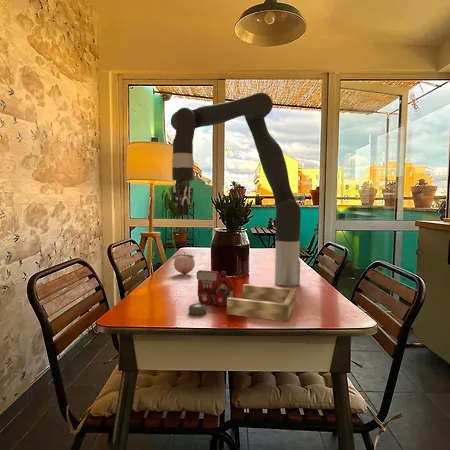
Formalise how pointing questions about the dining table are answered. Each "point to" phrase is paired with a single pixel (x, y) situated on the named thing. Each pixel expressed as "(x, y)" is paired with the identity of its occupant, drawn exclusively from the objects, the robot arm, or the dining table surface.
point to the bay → (263, 302)
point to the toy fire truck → (214, 287)
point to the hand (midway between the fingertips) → (182, 215)
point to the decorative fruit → (184, 263)
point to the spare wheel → (197, 309)
